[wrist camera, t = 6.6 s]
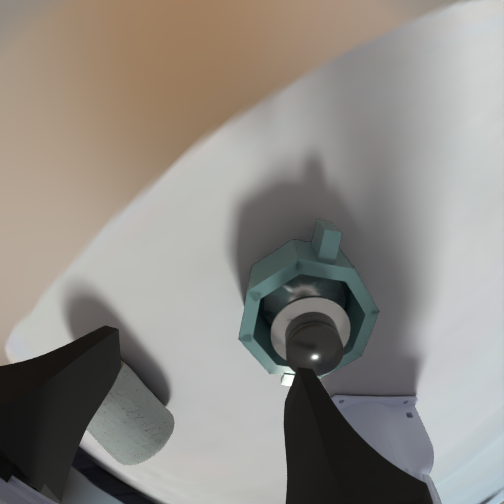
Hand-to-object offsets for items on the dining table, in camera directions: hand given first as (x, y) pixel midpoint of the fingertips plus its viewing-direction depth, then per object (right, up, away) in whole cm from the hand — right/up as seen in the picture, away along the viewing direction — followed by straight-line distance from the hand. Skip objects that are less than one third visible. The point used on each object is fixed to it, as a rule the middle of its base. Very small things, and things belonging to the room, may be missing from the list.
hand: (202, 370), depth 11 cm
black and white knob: (+6, +1, +10) cm, 11 cm away
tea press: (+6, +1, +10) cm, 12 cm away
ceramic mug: (-11, -9, +15) cm, 21 cm away
